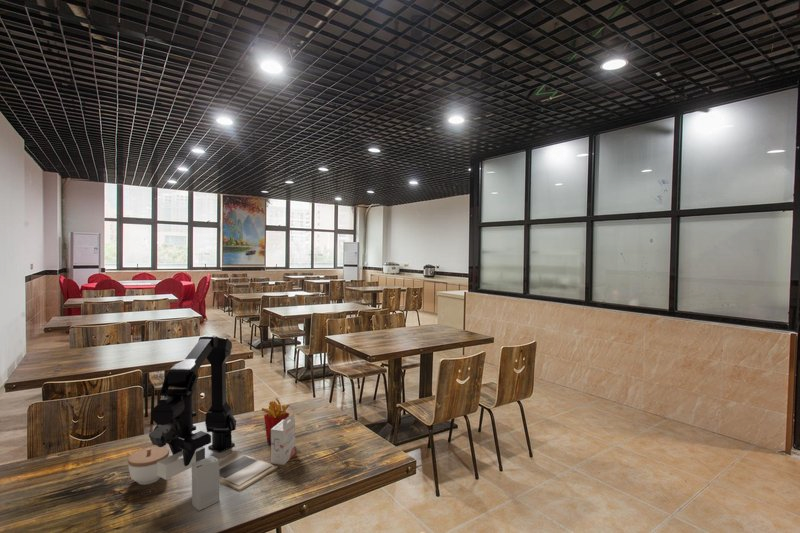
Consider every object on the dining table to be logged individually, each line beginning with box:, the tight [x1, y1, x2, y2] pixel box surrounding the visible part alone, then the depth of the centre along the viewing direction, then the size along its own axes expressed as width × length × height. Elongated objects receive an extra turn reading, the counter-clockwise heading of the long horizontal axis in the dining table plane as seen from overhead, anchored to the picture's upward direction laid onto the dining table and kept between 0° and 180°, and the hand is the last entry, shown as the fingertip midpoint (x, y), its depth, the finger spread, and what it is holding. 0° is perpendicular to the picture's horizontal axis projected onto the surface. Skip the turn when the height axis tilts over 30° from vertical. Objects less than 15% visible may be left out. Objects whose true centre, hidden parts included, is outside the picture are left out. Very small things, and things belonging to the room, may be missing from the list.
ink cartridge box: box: [270, 412, 296, 466], centre depth 139 cm, size 9×5×15 cm, turn 168°
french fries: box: [260, 397, 291, 443], centre depth 153 cm, size 9×8×15 cm
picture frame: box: [218, 450, 279, 492], centre depth 132 cm, size 20×15×1 cm
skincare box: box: [191, 455, 221, 512], centre depth 114 cm, size 6×4×12 cm
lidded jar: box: [127, 446, 170, 486], centre depth 126 cm, size 11×11×9 cm
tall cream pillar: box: [157, 446, 206, 480], centre depth 119 cm, size 4×12×4 cm, turn 151°
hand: (182, 463), depth 119 cm, fingers closed on tall cream pillar, 4 cm apart
